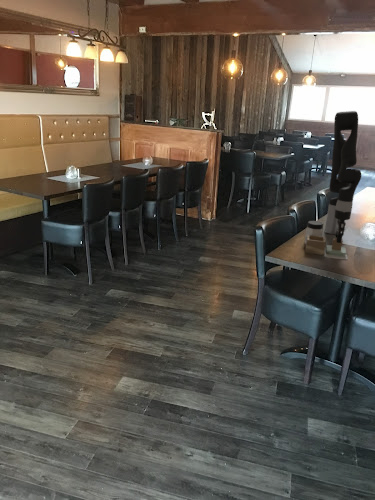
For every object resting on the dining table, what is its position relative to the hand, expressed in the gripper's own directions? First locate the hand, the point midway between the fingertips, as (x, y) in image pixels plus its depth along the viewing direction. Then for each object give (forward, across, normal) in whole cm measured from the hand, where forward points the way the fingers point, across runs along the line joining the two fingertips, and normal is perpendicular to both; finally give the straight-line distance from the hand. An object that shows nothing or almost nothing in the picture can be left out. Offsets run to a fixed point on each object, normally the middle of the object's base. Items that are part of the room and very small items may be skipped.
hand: (338, 239), depth 210 cm
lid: (+7, 0, 0) cm, 7 cm away
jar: (+8, -12, -12) cm, 19 cm away
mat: (+8, 0, 0) cm, 8 cm away
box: (+8, 0, -11) cm, 13 cm away
